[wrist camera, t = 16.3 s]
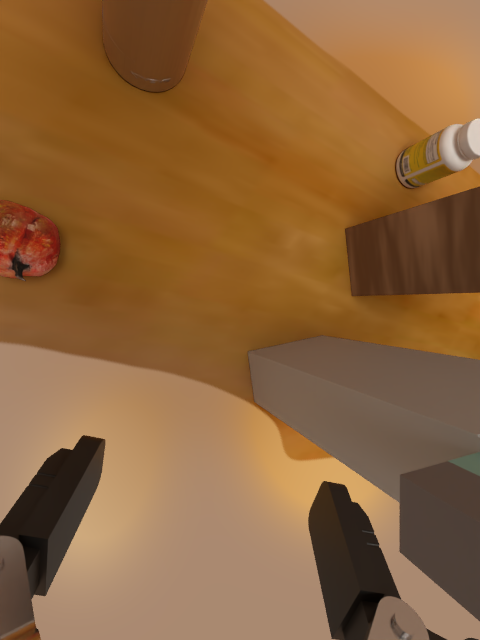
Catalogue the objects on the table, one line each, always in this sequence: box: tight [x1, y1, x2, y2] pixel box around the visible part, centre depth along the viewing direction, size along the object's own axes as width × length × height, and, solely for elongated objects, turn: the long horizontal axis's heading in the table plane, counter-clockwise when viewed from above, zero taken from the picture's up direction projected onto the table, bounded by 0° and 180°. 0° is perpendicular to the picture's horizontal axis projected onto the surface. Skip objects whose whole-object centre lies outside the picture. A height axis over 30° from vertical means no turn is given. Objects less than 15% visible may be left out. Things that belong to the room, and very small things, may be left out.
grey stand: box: [248, 335, 480, 503], centre depth 32 cm, size 12×7×31 cm, turn 99°
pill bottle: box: [396, 119, 480, 188], centre depth 48 cm, size 6×6×11 cm
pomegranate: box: [0, 200, 60, 281], centre depth 32 cm, size 7×7×10 cm
